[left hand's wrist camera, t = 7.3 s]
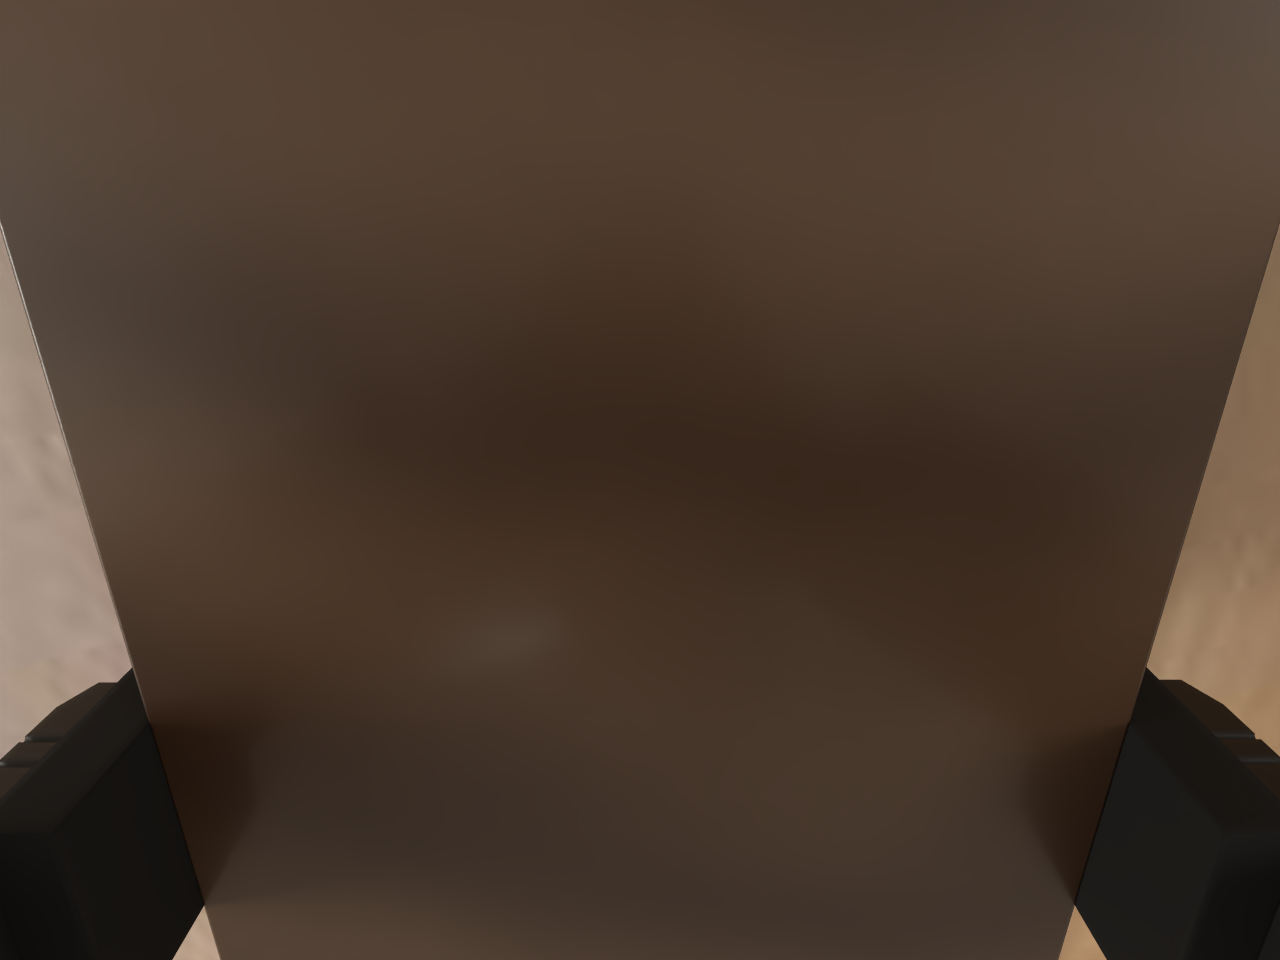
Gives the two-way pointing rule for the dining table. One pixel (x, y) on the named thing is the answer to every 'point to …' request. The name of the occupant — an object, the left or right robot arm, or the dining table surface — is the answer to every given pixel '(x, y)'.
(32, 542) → the dining table surface
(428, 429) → the cabinet
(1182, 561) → the dining table surface
